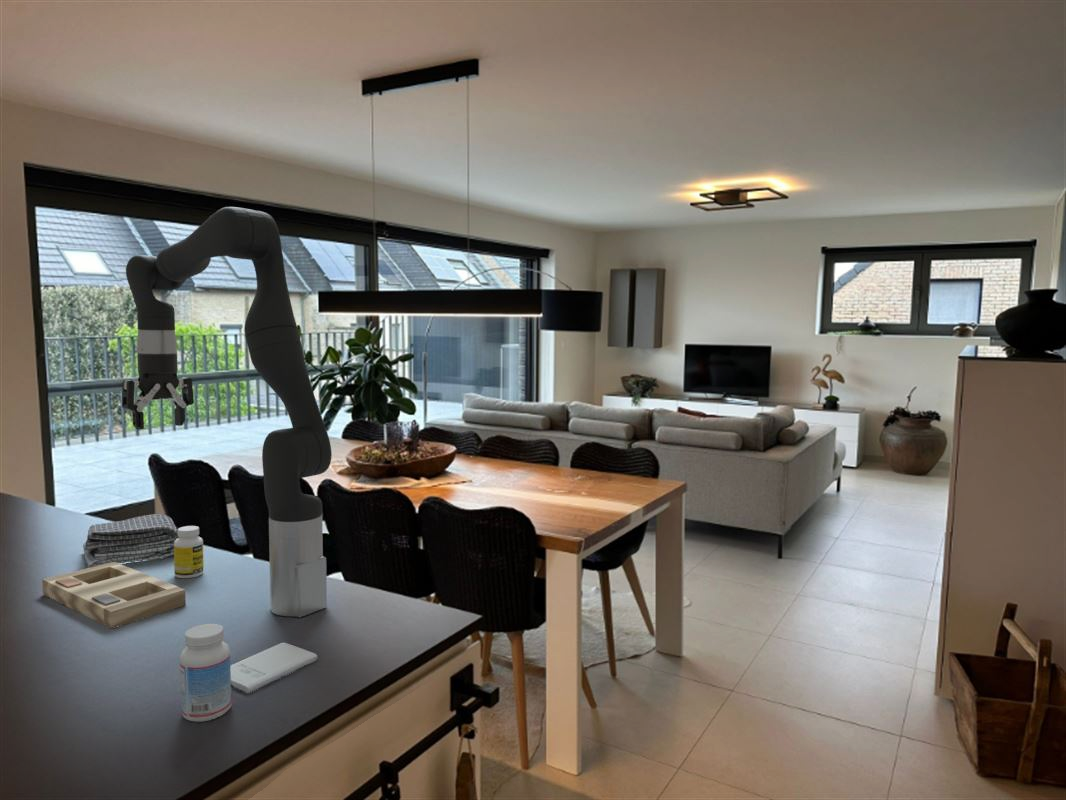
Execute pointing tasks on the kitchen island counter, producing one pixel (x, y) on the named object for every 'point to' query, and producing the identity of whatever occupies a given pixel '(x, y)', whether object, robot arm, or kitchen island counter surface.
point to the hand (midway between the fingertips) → (159, 427)
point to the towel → (131, 540)
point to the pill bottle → (205, 674)
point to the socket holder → (114, 593)
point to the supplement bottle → (188, 553)
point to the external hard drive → (268, 665)
